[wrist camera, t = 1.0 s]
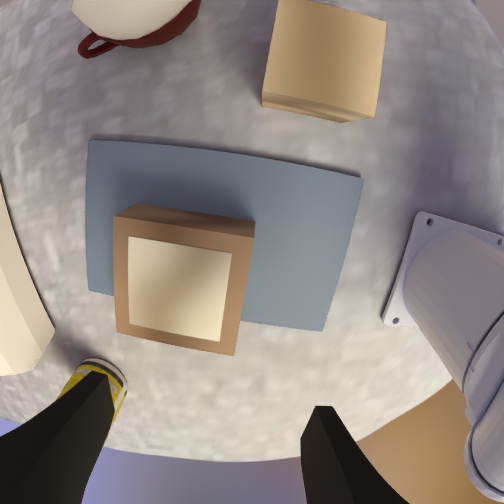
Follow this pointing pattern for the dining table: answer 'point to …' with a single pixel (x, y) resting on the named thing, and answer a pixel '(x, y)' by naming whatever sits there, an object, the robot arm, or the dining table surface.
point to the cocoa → (132, 22)
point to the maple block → (324, 61)
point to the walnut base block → (180, 276)
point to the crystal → (19, 307)
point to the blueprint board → (236, 206)
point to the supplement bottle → (114, 376)
